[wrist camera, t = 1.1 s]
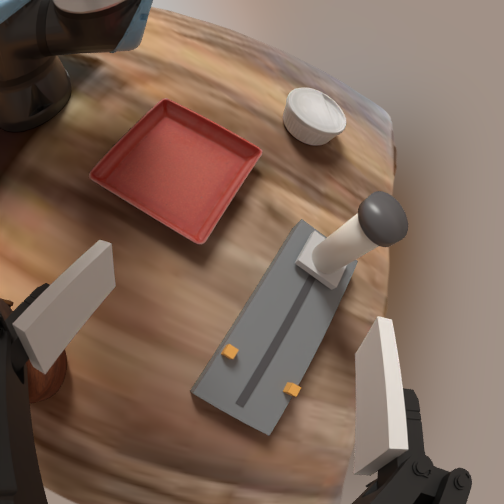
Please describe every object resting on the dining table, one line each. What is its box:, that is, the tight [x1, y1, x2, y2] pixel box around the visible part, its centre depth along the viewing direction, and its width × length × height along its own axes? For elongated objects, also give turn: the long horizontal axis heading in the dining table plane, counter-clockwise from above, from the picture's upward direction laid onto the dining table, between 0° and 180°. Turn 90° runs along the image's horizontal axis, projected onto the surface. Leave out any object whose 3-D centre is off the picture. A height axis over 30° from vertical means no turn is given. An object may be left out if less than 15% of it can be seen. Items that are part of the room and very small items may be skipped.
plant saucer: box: [89, 98, 263, 245], centre depth 41 cm, size 18×18×3 cm
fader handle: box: [295, 191, 408, 290], centre depth 34 cm, size 5×6×14 cm
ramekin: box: [283, 88, 346, 145], centre depth 51 cm, size 11×11×5 cm
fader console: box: [190, 219, 358, 435], centre depth 37 cm, size 26×10×4 cm, turn 149°
